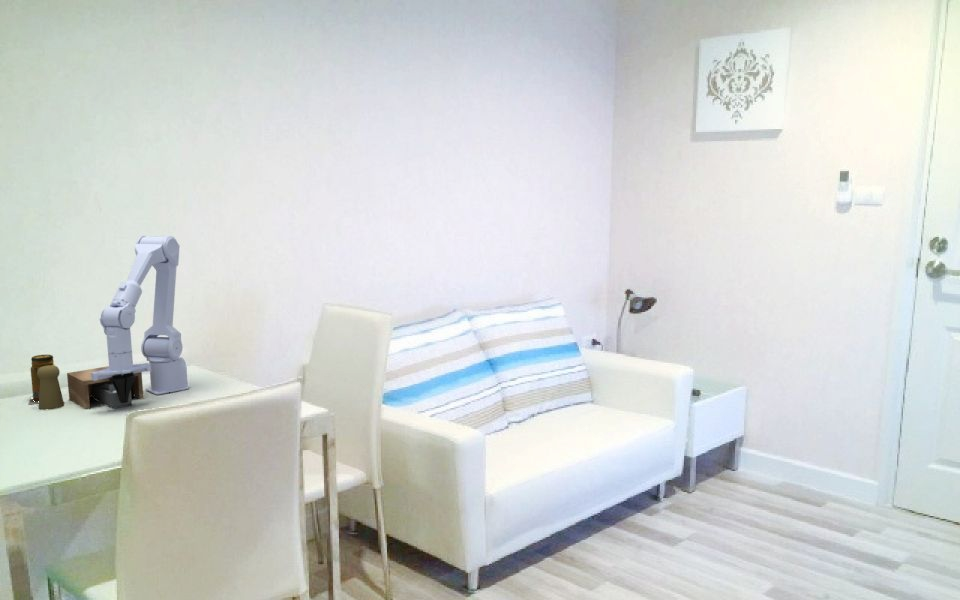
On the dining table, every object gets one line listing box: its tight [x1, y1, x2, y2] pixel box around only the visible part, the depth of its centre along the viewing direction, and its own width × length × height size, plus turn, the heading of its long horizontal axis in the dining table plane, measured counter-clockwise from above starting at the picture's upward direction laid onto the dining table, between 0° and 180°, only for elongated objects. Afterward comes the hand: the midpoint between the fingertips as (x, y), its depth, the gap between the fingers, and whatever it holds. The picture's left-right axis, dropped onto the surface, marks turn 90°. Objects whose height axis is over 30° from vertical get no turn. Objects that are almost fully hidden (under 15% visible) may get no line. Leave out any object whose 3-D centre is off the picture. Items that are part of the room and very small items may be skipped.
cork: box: [37, 365, 65, 410], centre depth 207 cm, size 6×6×11 cm
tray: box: [92, 381, 133, 409], centre depth 212 cm, size 5×14×5 cm, turn 45°
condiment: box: [28, 354, 56, 405], centre depth 214 cm, size 7×8×12 cm
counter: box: [66, 365, 144, 410], centre depth 214 cm, size 15×13×8 cm
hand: (123, 402), depth 206 cm, fingers closed, pressing on tray
